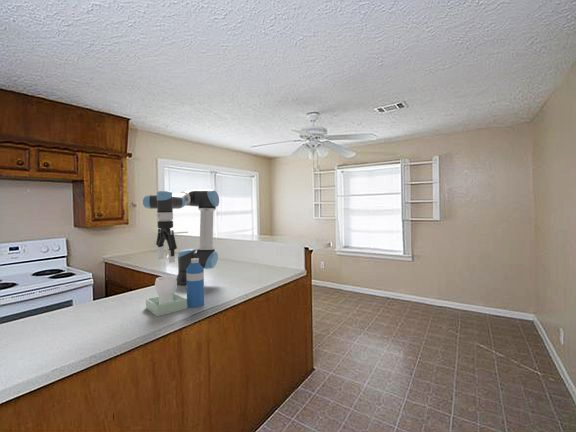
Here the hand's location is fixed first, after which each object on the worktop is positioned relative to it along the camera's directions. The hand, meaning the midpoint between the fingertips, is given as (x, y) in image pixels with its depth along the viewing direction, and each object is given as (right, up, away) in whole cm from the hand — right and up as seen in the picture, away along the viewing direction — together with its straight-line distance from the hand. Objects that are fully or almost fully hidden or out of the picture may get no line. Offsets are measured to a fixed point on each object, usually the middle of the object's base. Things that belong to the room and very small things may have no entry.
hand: (166, 260), depth 153 cm
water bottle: (+14, -25, +4) cm, 29 cm away
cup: (+1, -24, -2) cm, 24 cm away
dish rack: (+1, -25, -2) cm, 25 cm away
